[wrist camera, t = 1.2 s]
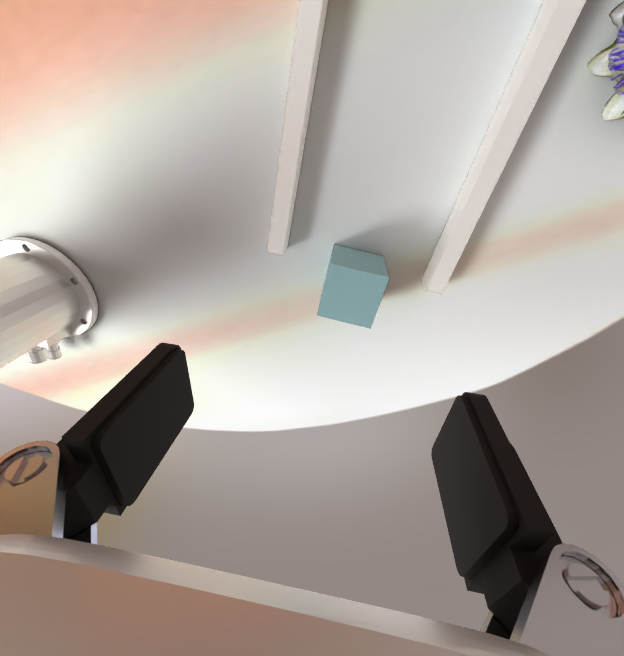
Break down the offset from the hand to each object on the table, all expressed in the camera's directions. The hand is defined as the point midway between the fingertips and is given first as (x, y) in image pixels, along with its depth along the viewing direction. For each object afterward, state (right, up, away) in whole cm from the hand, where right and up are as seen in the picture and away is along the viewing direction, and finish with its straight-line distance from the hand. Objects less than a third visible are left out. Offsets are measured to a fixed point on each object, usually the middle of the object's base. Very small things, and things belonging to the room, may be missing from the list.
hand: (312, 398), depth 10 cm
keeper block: (+4, +8, +20) cm, 22 cm away
